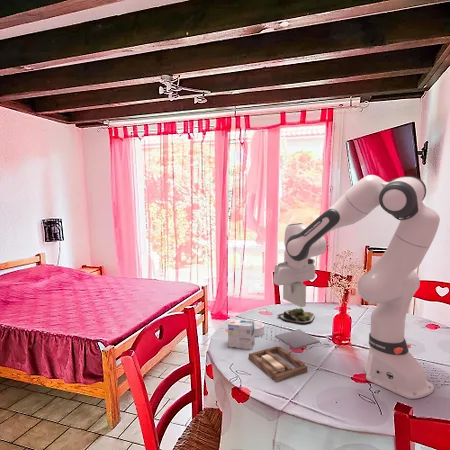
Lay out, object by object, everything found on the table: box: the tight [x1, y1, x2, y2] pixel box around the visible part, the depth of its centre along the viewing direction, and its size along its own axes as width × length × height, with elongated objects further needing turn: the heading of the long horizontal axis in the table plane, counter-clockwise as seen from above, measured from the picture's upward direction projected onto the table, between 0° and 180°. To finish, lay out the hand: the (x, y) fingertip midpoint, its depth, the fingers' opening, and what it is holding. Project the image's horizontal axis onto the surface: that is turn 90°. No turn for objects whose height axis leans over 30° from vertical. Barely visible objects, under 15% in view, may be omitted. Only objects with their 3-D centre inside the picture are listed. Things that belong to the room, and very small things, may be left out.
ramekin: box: [254, 320, 265, 337], centre depth 160 cm, size 9×9×4 cm
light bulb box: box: [227, 318, 256, 351], centre depth 147 cm, size 11×7×11 cm, turn 74°
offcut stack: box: [261, 354, 285, 373], centre depth 128 cm, size 11×3×3 cm, turn 27°
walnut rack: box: [248, 345, 308, 383], centre depth 131 cm, size 19×14×2 cm
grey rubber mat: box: [275, 329, 320, 350], centre depth 153 cm, size 14×14×1 cm
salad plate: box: [276, 307, 315, 326], centre depth 180 cm, size 19×18×5 cm
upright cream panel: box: [282, 282, 307, 308], centre depth 146 cm, size 12×2×9 cm, turn 28°
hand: (294, 292), depth 146 cm, fingers closed on upright cream panel, 2 cm apart
